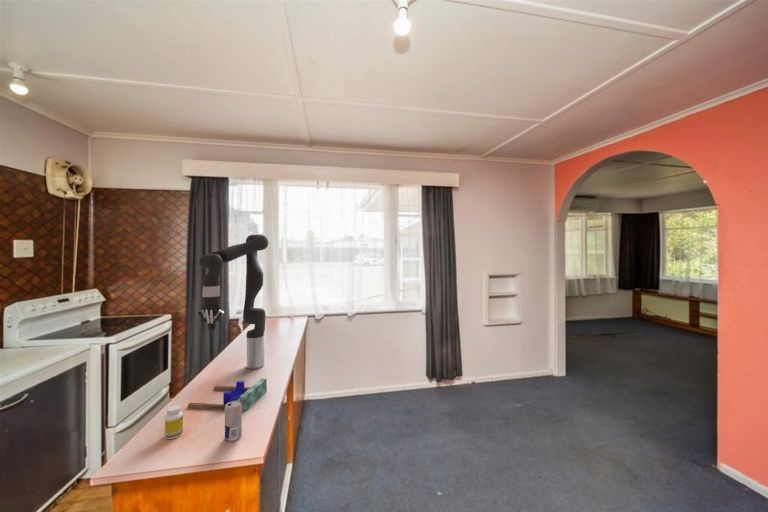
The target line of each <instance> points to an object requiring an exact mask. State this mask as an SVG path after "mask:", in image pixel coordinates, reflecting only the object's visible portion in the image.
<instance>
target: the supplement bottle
mask: <svg viewBox="0 0 768 512" xmlns="http://www.w3.org/2000/svg"><path fill="white" fill-rule="evenodd" d="M183 419H184V414H183V412H182V411H181V405H177V404H176V405H173V406H172V405H171V406H169V407H168V408H167V409H166V415H165V416H164V439H166V440H173V439H176V438H178V437H180V436H182V434H183V432H184V428H183V427H184V425H183V423H184V420H183Z"/></svg>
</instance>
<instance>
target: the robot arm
mask: <svg viewBox="0 0 768 512" xmlns="http://www.w3.org/2000/svg"><path fill="white" fill-rule="evenodd" d="M268 246H269V238H268V237H267V236H266V235H264V234H250V235H248V236H247V237H246V238H245V242H243V243H239V244H234V245H230V246H227V247H225V248H222V249H219V250H217V251H216V250H215V251H212V252H208V253H205V254H203V255H202V256H200V258H199V261H198V263H199V266H200V267H201V268H203V269H208V272H207V273H205V274H204V275H203V276H202V294H201V295H202V309H201V310H200V311H198V312H197V313H198V315H199V317H200V318H201V319H202V321H203V323H207V330H208V331H209V332H213V331H215V329H216V323H217V322H219V321H220V320H221V319H222V318H223V316H224V315H225V314H226V312H225V311H224V310H222V309H221V308H222V307H221V305H220V304H221V287H220V286H221V285H220V276H221V273H222V270H223V266H224V264H227V263H229V262H232V261H234V260H236V259H238V258H240V257H243V256H246V261H245V262H246V273H245V296H244V304H243V305H244V306H243V312H242V313H243V314H242V320H243V322H244V324H245V325H254V328H253V329H250V330H248V331H247V332H246V337H245V338H246V368H247V369H250V370H257V369H260V368H263V367H264V366H265V330H266V311H265V309H264V308H262V307H254V306H255V300H256V298H257V296H258V295H259V292H261V290H262V288H263V285H264V271H263V268H262V266H261V265H260V262H259V260H258V252H259V251H264V250H266V249H267V248H268Z"/></svg>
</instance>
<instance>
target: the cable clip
mask: <svg viewBox="0 0 768 512" xmlns="http://www.w3.org/2000/svg"><path fill="white" fill-rule="evenodd" d="M235 386H236V388H234V389H233V390H232V391H224V392H223V394H222V395H223V397H222V398H223V400H222V402H223V404H224V405H226V404H227V403H228V402H231V401H239V400H240V396H241V395H242V394H243V393H244V387H245V381H243V380H242V381H241V380H238V381H236V382H235Z"/></svg>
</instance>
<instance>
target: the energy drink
mask: <svg viewBox="0 0 768 512" xmlns="http://www.w3.org/2000/svg"><path fill="white" fill-rule="evenodd" d="M242 412H243V411H242V404H241V402H240V400H237V401H231V402H228V403H227V404H226V405H225V410H224V440H225V441H226V442H228V443H230V442H236V441H238V440H239V439H240V438H241V437H242V436H243V432H242V430H243V427H242V426H243V425H242V424H243V422H242V421H243V420H242V419H243V418H242V415H243V413H242Z"/></svg>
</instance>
